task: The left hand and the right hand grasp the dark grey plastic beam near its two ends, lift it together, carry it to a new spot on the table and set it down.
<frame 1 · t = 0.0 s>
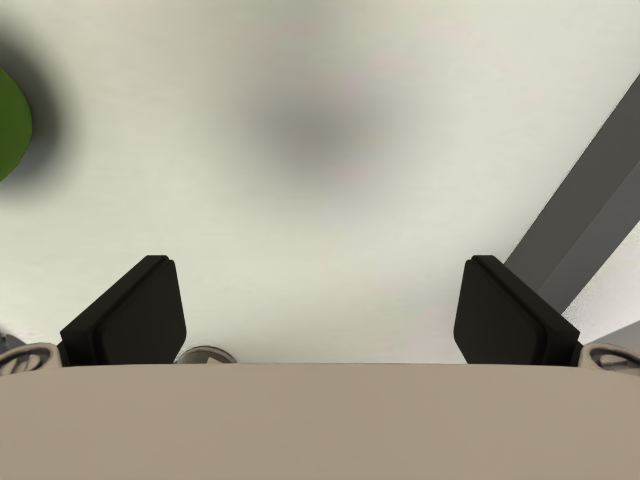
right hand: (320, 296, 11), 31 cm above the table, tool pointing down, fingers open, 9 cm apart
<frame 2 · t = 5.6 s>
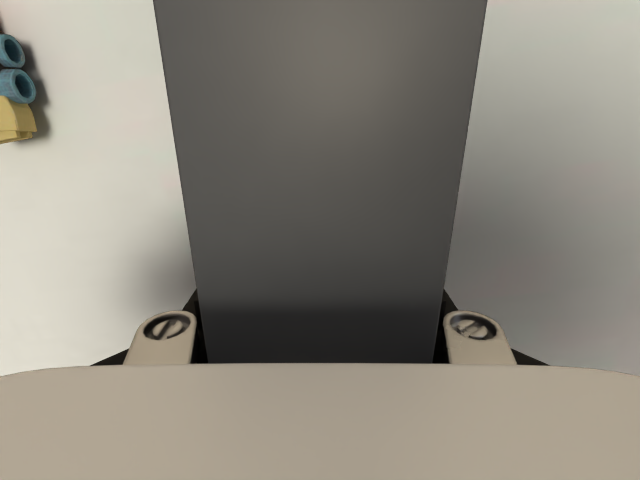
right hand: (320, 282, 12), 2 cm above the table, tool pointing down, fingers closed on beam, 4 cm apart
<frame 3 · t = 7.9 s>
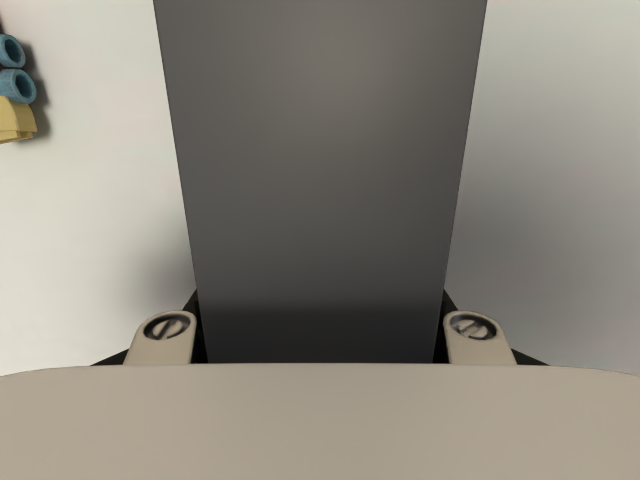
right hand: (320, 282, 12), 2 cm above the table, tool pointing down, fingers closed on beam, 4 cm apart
when the left hand's fingers open (4 cm above the table, at t = 13.7 s): beam drops 2 cm, on the table.
when the right hand's fingers open (4 cm above the table, at t = 13.7 s): beam drops 2 cm, on the table.
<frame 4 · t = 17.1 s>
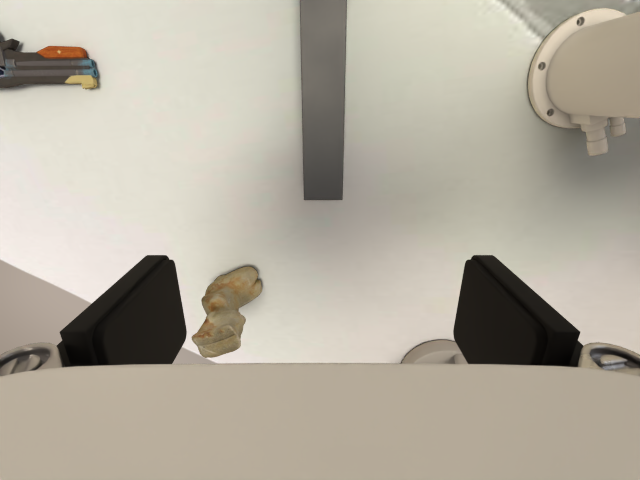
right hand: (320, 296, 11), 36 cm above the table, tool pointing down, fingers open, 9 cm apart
toy gun: (12, 43, 40), on the table
bust sculpture: (449, 353, 57), on the table
sculpture: (238, 280, 52), on the table
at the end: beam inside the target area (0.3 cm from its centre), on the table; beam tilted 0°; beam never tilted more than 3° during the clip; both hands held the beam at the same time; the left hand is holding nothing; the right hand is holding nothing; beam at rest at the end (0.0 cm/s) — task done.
